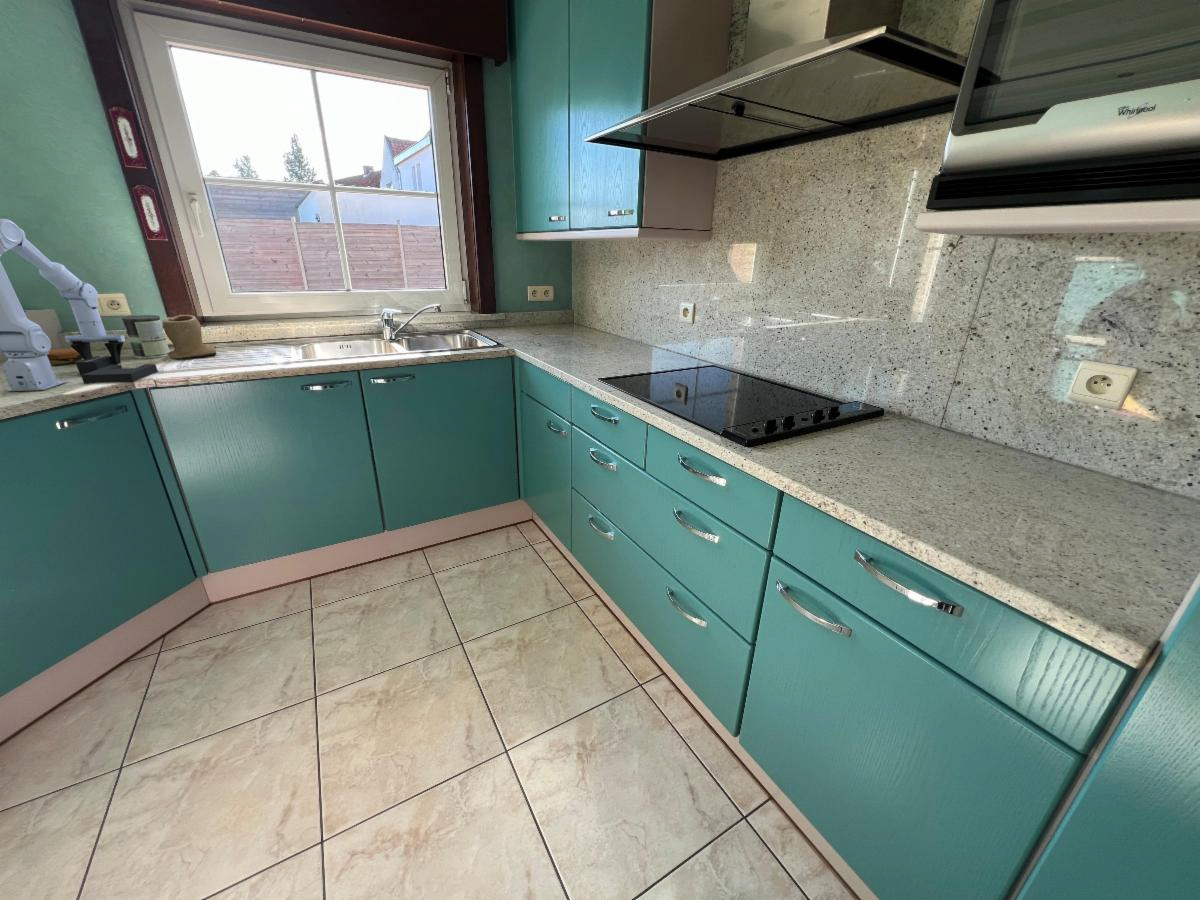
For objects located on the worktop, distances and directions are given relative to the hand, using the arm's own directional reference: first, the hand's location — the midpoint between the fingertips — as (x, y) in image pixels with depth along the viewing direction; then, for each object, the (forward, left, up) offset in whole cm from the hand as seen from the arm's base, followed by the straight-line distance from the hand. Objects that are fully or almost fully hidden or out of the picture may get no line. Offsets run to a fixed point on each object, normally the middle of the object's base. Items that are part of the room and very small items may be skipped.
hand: (104, 364), depth 160 cm
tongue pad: (-3, 0, -2) cm, 4 cm away
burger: (+13, +18, -2) cm, 22 cm away
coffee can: (+22, -3, -2) cm, 22 cm away
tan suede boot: (+18, -18, -2) cm, 25 cm away
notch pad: (-13, -11, -2) cm, 17 cm away
